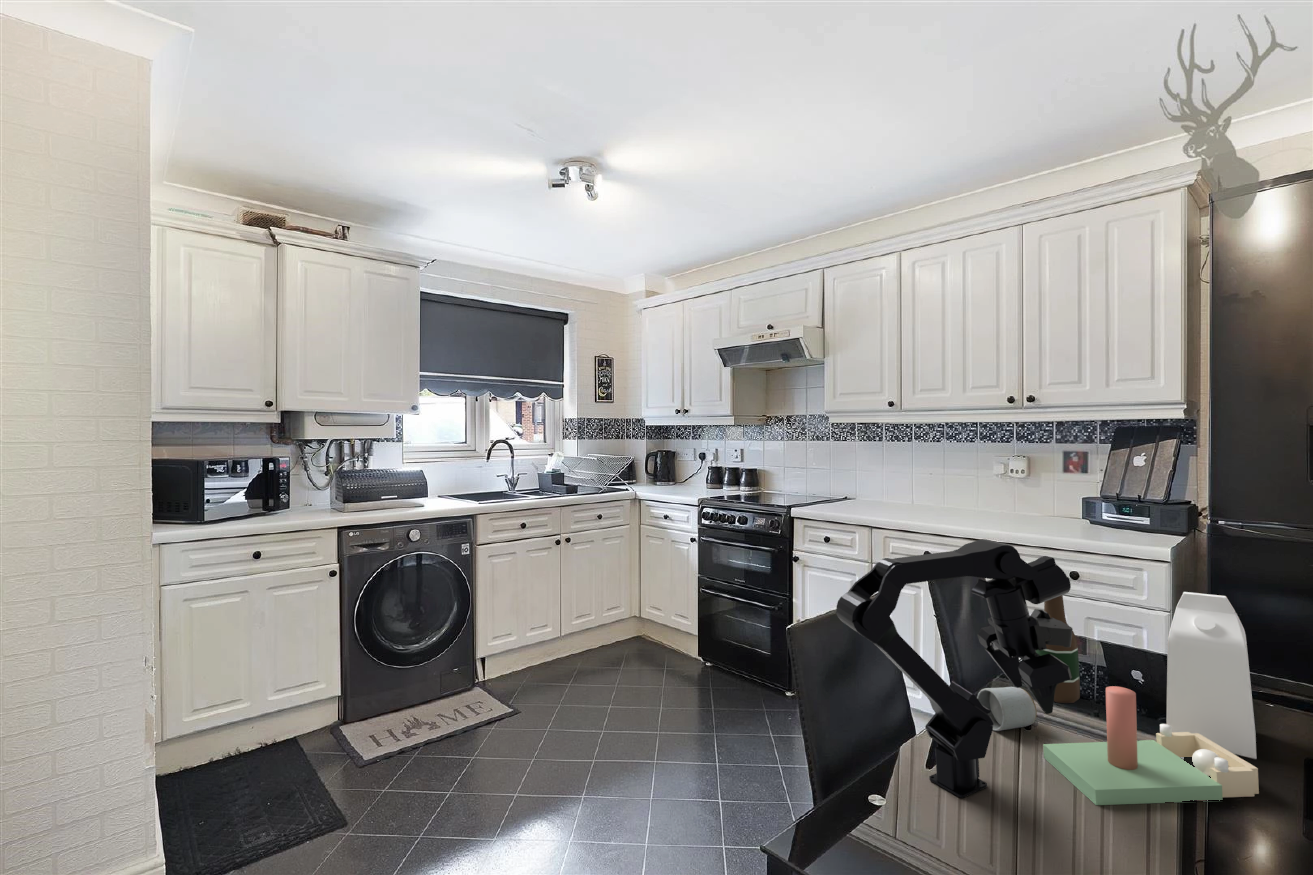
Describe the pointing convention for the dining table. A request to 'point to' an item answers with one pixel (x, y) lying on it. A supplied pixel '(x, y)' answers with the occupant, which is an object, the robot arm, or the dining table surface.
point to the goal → (1228, 768)
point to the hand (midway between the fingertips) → (1033, 699)
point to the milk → (1210, 674)
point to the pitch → (1131, 774)
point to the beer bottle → (1063, 655)
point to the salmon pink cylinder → (1121, 727)
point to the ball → (1204, 760)
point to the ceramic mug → (1008, 707)
